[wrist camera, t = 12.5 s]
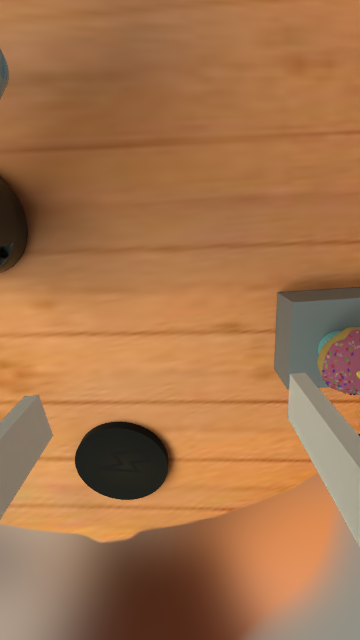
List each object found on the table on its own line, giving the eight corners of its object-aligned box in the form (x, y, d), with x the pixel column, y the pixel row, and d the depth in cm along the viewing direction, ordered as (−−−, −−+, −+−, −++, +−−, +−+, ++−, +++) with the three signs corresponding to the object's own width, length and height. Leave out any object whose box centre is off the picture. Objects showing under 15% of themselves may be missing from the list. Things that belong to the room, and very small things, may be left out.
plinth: (277, 292, 38) (292, 302, 33) (366, 286, 38) (398, 295, 32) (274, 368, 42) (287, 389, 37) (354, 364, 42) (380, 384, 36)
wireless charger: (61, 453, 50) (56, 462, 49) (121, 404, 46) (118, 411, 44) (126, 502, 54) (123, 512, 52) (187, 460, 50) (186, 469, 48)
